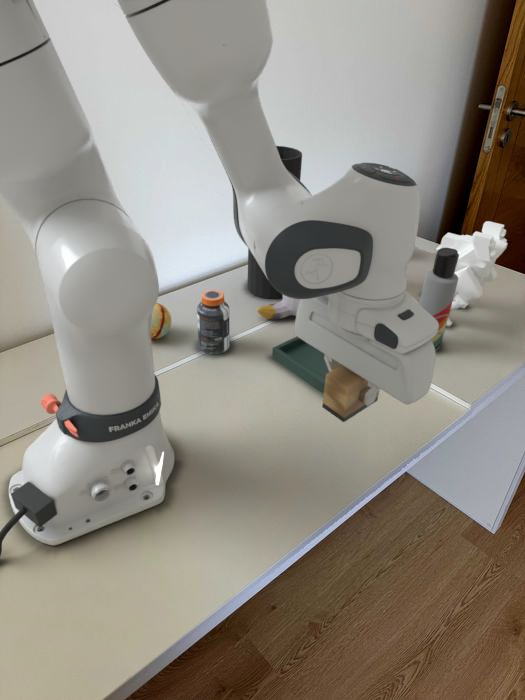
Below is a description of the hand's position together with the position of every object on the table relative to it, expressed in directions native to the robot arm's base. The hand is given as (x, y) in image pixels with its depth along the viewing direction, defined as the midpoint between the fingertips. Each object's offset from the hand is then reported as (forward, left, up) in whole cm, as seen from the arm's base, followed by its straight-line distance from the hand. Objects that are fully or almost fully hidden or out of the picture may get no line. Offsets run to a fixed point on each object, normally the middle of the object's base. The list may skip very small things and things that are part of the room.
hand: (351, 391), depth 73 cm
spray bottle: (+36, +10, -13) cm, 39 cm away
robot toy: (+50, +14, -13) cm, 53 cm away
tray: (+20, +18, -13) cm, 30 cm away
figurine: (+23, +34, -13) cm, 43 cm away
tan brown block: (0, 0, -2) cm, 2 cm away
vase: (+27, +46, -13) cm, 55 cm away
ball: (-4, +45, -13) cm, 47 cm away
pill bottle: (+3, +35, -13) cm, 38 cm away
